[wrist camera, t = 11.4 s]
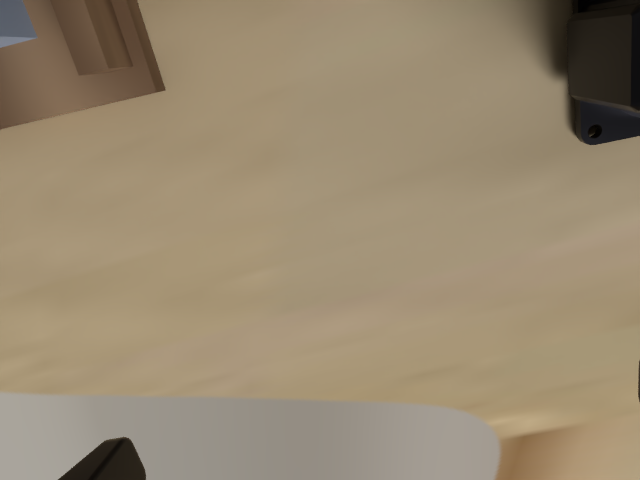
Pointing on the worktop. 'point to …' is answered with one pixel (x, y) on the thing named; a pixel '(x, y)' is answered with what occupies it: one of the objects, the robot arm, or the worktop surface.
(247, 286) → the worktop surface
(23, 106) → the walnut rack
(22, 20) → the pale blue cuboid
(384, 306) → the worktop surface
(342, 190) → the worktop surface
